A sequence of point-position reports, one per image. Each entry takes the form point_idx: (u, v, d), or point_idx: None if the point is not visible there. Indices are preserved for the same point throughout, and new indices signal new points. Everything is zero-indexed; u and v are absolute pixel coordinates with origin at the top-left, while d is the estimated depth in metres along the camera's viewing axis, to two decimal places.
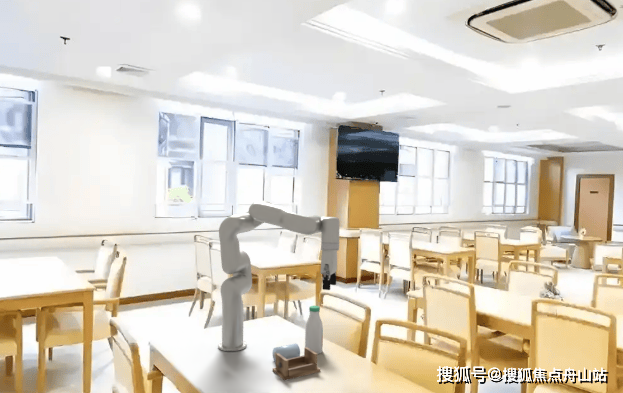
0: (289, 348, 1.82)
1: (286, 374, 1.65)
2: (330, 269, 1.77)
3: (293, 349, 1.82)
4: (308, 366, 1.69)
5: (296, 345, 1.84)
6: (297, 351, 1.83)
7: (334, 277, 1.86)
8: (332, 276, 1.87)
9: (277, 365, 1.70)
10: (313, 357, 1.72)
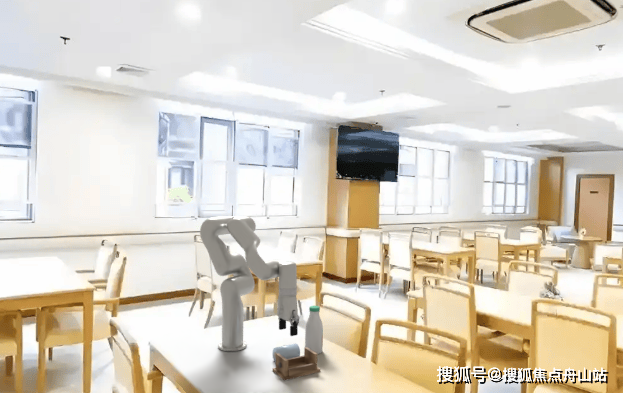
0: (289, 348, 1.82)
1: (286, 374, 1.65)
2: (297, 314, 1.79)
3: (293, 349, 1.82)
4: (308, 366, 1.69)
5: (296, 345, 1.84)
6: (297, 351, 1.83)
7: (285, 321, 1.87)
8: (283, 321, 1.86)
9: (277, 365, 1.70)
10: (313, 357, 1.72)
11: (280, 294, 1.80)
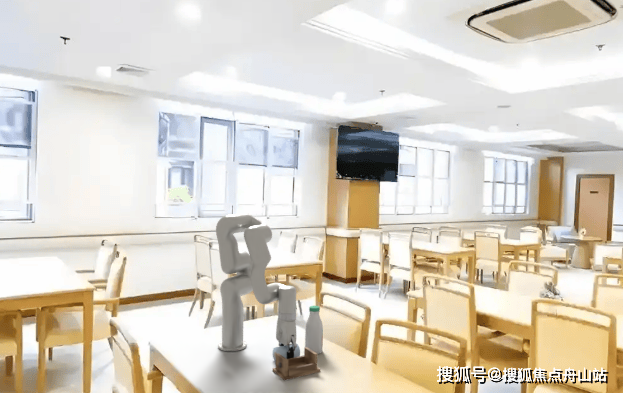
0: None
1: (286, 374, 1.65)
2: None
3: None
4: (308, 366, 1.69)
5: None
6: (297, 351, 1.83)
7: None
8: None
9: (277, 365, 1.70)
10: (313, 357, 1.72)
11: (279, 318, 1.80)
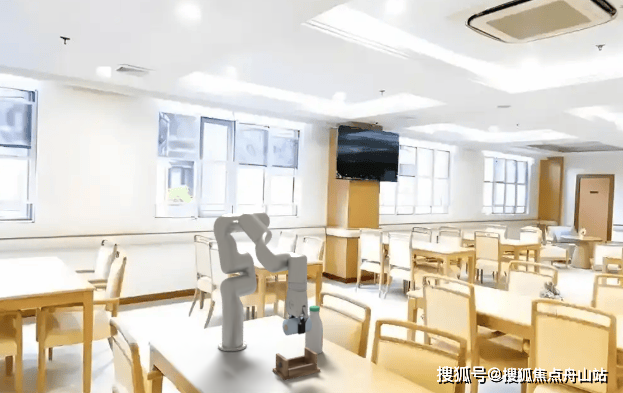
0: None
1: (286, 374, 1.65)
2: (306, 312, 1.69)
3: None
4: (308, 366, 1.69)
5: (308, 318, 1.73)
6: (309, 323, 1.72)
7: None
8: None
9: (277, 365, 1.70)
10: (313, 357, 1.72)
11: (289, 288, 1.69)
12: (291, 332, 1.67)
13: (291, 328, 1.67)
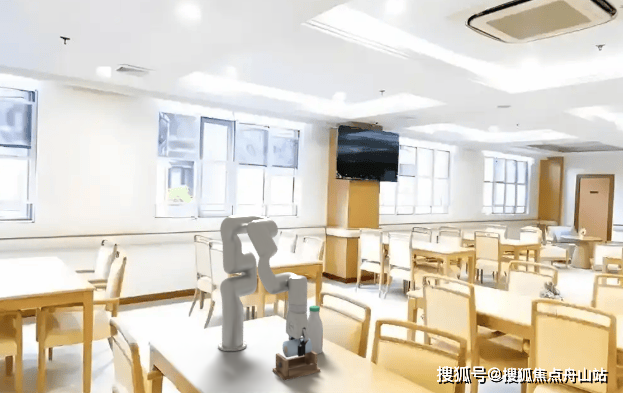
0: None
1: (286, 374, 1.65)
2: None
3: None
4: (308, 366, 1.69)
5: None
6: (309, 345, 1.71)
7: None
8: None
9: (277, 365, 1.70)
10: (313, 357, 1.72)
11: (289, 310, 1.69)
12: (291, 354, 1.67)
13: (291, 350, 1.67)
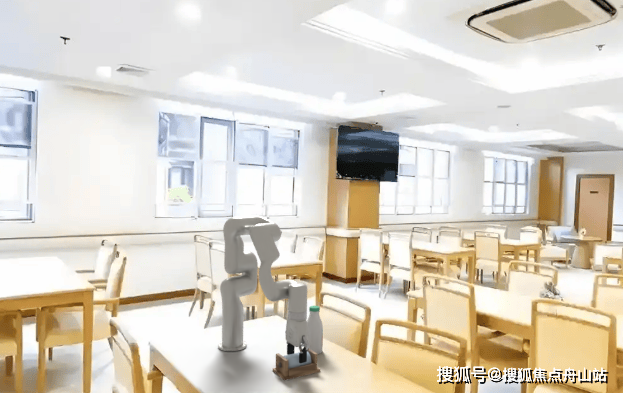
0: None
1: (286, 374, 1.65)
2: None
3: None
4: (308, 366, 1.69)
5: (307, 353, 1.73)
6: (308, 359, 1.71)
7: (293, 346, 1.76)
8: (291, 345, 1.75)
9: (277, 365, 1.70)
10: (313, 357, 1.72)
11: (289, 318, 1.69)
12: None
13: (290, 365, 1.67)
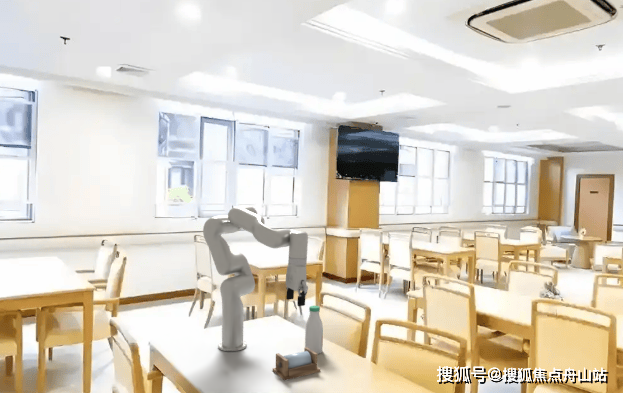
0: (299, 357, 1.70)
1: (286, 374, 1.65)
2: None
3: (304, 358, 1.71)
4: (308, 366, 1.69)
5: (307, 353, 1.73)
6: (308, 360, 1.71)
7: (292, 291, 1.84)
8: (290, 291, 1.83)
9: (277, 365, 1.70)
10: (313, 357, 1.72)
11: (290, 263, 1.76)
12: None
13: (290, 365, 1.67)
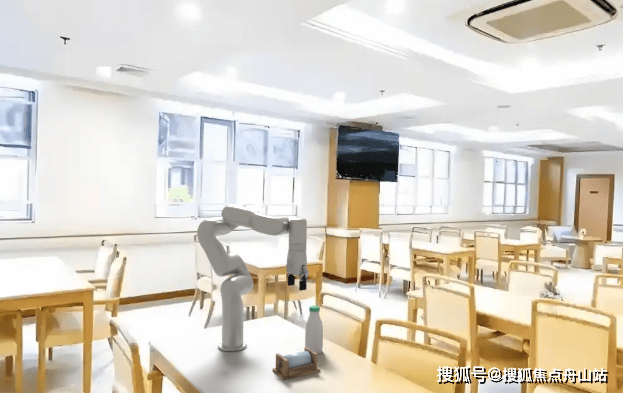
0: (299, 356, 1.70)
1: (286, 374, 1.65)
2: None
3: (304, 357, 1.71)
4: (308, 366, 1.69)
5: (307, 353, 1.73)
6: (308, 359, 1.71)
7: (293, 277, 1.88)
8: (291, 277, 1.87)
9: (277, 365, 1.70)
10: (313, 357, 1.72)
11: (290, 249, 1.81)
12: None
13: (290, 365, 1.67)
